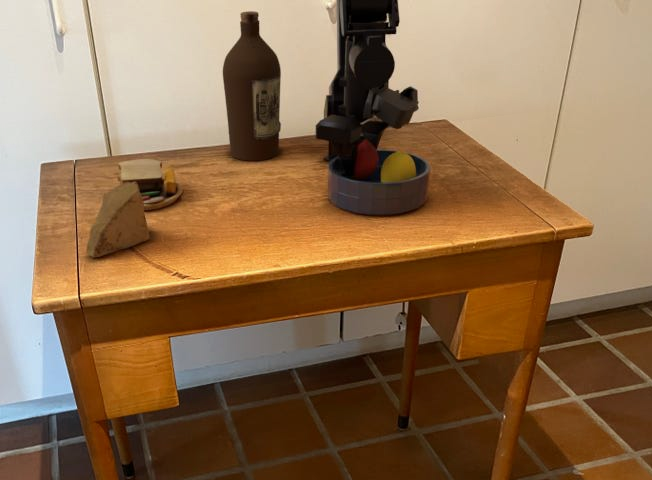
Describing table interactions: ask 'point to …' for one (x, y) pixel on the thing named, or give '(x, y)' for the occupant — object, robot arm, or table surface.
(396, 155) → the lemon
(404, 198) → the bowl
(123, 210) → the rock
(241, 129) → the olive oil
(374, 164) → the onion
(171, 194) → the toy sandwich meal
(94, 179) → the table surface
